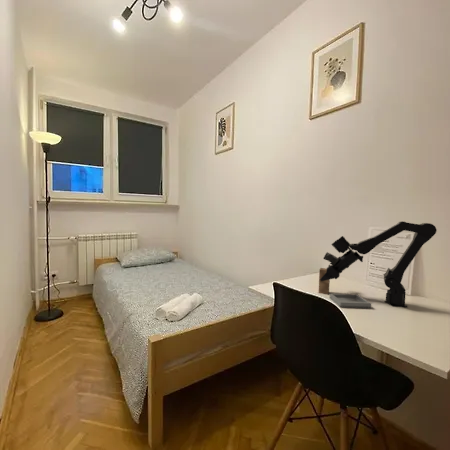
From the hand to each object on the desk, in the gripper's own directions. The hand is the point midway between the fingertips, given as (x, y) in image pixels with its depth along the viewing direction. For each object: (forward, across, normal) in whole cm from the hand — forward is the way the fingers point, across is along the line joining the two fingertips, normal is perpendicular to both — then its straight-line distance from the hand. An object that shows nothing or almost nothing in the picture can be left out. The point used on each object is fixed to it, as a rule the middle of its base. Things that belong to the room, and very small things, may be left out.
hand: (321, 279), depth 129 cm
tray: (-5, +10, +14) cm, 18 cm away
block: (+4, 0, +6) cm, 7 cm away
